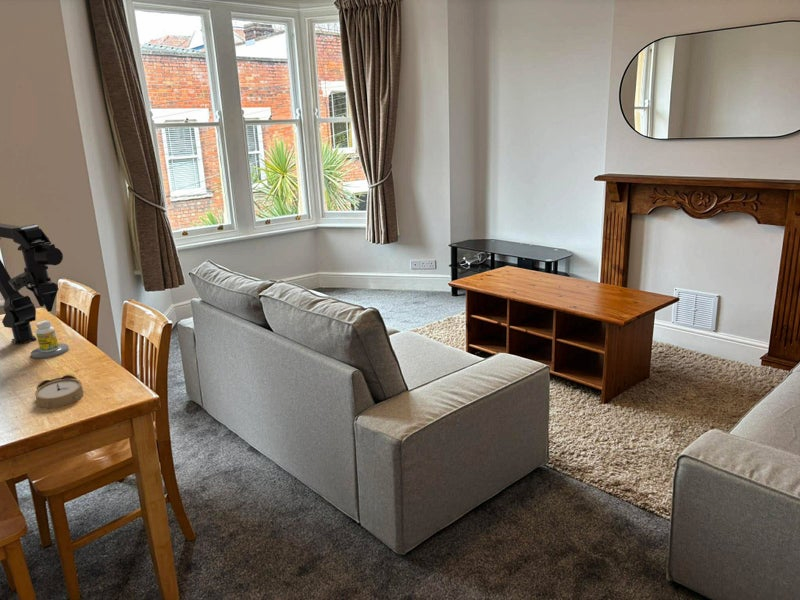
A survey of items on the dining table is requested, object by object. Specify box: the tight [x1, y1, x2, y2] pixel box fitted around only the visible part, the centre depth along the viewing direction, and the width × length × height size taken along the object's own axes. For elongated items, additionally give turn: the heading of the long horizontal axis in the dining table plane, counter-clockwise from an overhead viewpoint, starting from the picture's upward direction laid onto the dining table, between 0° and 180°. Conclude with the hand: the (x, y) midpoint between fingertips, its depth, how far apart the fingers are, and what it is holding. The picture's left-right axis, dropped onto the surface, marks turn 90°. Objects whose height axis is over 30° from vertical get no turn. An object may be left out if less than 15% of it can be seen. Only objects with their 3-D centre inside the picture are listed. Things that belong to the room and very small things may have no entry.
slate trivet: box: [30, 343, 70, 360], centre depth 201 cm, size 11×11×1 cm
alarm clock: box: [34, 374, 84, 409], centre depth 167 cm, size 11×5×15 cm
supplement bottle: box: [35, 320, 59, 352], centre depth 200 cm, size 5×5×10 cm
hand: (45, 308), depth 205 cm, fingers open, 9 cm apart
